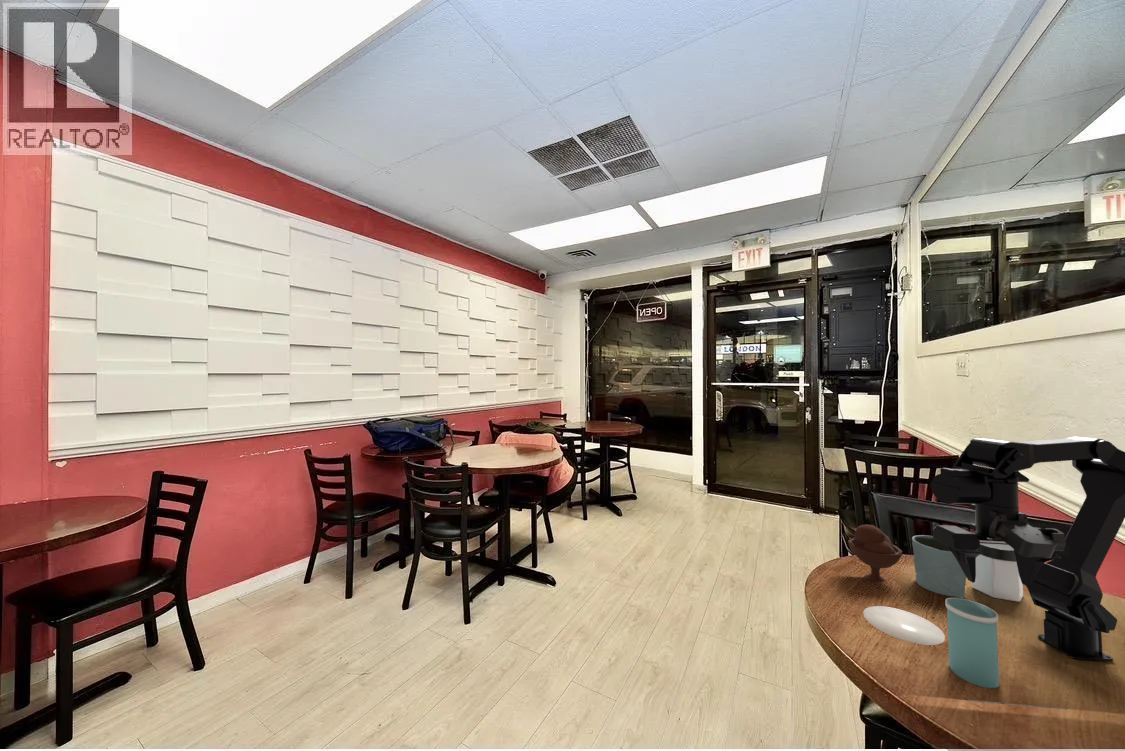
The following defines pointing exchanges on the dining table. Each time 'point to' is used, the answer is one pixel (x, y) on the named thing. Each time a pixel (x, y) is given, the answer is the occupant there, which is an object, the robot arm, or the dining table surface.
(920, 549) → the grey-blue cup
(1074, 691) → the dining table surface
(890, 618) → the cream saucer
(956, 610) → the teal canister
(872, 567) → the ice cream bowl
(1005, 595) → the jar
